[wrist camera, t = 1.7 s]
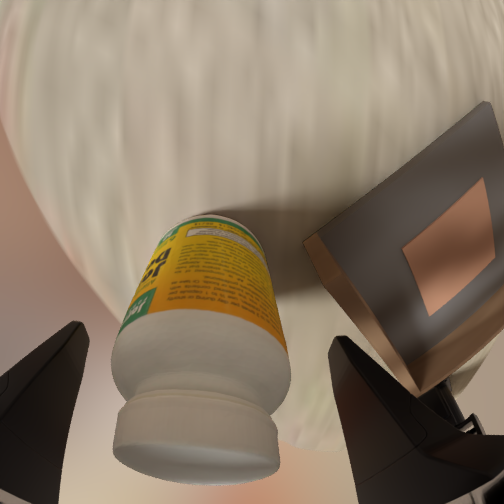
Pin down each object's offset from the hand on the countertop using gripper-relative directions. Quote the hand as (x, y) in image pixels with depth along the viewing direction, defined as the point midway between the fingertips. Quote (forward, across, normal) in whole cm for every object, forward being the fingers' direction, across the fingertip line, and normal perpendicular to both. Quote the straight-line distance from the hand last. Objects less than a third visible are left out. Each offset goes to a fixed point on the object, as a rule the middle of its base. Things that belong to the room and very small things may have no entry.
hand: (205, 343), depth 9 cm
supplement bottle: (+5, 0, 0) cm, 5 cm away
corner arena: (+5, -15, -1) cm, 16 cm away
